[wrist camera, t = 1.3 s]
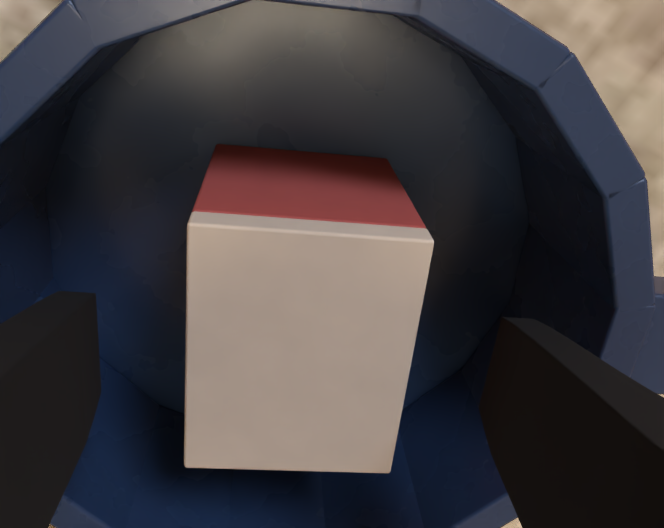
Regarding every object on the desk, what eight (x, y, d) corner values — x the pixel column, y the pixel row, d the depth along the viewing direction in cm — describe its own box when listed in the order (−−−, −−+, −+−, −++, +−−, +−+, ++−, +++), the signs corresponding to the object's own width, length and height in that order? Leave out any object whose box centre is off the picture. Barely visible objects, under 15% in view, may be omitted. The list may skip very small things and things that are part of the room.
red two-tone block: (360, 339, 17) (391, 474, 12) (209, 331, 16) (183, 469, 12) (387, 157, 15) (436, 240, 10) (215, 142, 14) (186, 222, 10)
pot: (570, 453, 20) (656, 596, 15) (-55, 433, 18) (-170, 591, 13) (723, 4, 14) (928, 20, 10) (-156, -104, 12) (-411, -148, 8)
